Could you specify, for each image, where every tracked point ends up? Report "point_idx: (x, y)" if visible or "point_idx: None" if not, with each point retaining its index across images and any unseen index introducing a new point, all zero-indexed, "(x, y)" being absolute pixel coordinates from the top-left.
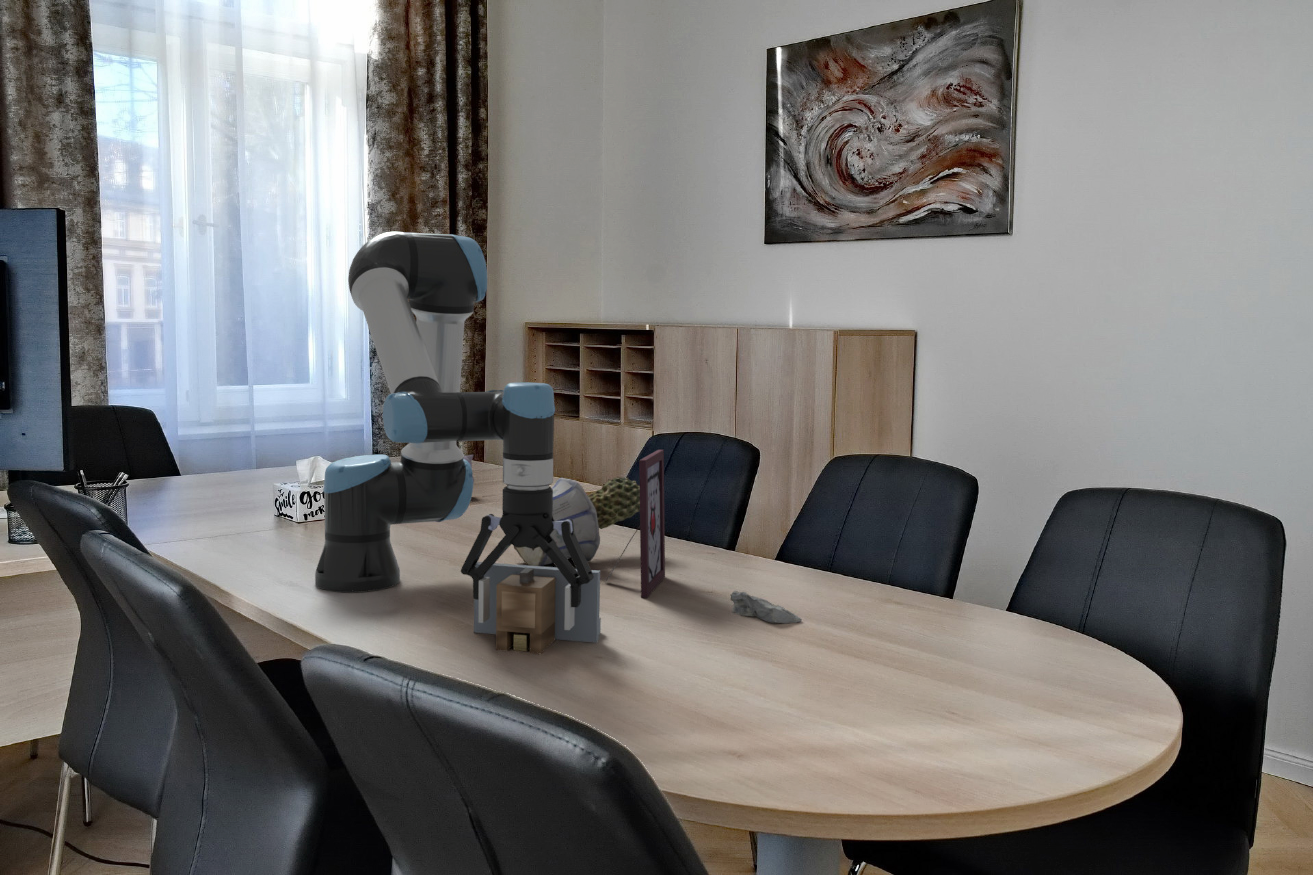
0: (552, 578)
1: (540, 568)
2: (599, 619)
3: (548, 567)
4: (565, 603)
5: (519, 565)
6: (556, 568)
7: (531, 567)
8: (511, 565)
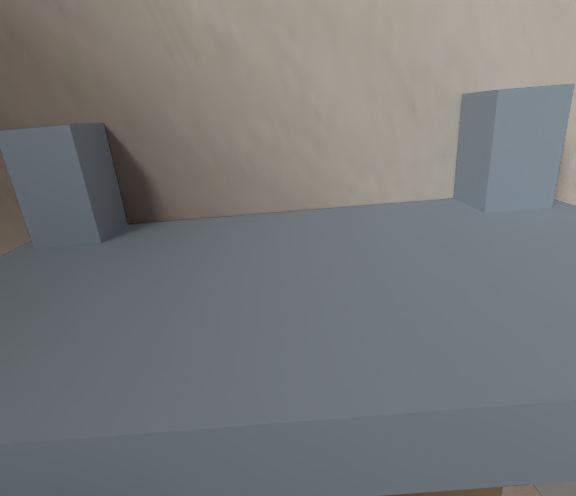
0: (492, 487)
1: (372, 486)
2: (568, 109)
3: (448, 432)
4: (538, 486)
5: (97, 461)
6: (548, 437)
7: (264, 484)
8: (17, 485)
